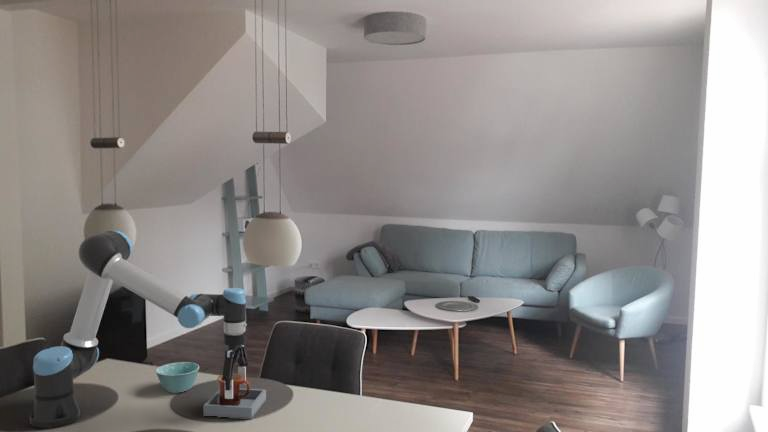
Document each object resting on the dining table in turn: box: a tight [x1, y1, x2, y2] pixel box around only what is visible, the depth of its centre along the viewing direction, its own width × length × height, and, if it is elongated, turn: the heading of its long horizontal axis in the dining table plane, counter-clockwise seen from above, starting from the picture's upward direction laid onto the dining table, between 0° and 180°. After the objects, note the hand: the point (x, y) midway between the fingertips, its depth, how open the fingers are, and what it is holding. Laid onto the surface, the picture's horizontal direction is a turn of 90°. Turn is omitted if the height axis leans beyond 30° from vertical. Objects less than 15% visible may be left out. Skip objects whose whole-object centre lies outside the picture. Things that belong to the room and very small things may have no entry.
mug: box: [216, 372, 251, 406], centre depth 225 cm, size 12×9×10 cm
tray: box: [202, 387, 267, 420], centre depth 226 cm, size 17×17×4 cm
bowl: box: [155, 361, 200, 394], centre depth 244 cm, size 16×16×8 cm
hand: (235, 391), depth 226 cm, fingers open, 13 cm apart
